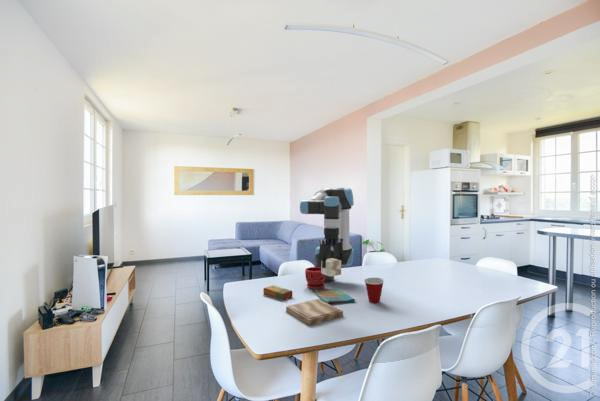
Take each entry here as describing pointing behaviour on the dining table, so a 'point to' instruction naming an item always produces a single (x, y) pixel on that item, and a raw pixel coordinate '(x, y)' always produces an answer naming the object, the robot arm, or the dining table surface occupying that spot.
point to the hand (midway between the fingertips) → (331, 273)
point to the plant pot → (315, 278)
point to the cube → (333, 267)
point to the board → (314, 311)
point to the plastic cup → (374, 289)
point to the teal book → (333, 296)
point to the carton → (277, 292)
